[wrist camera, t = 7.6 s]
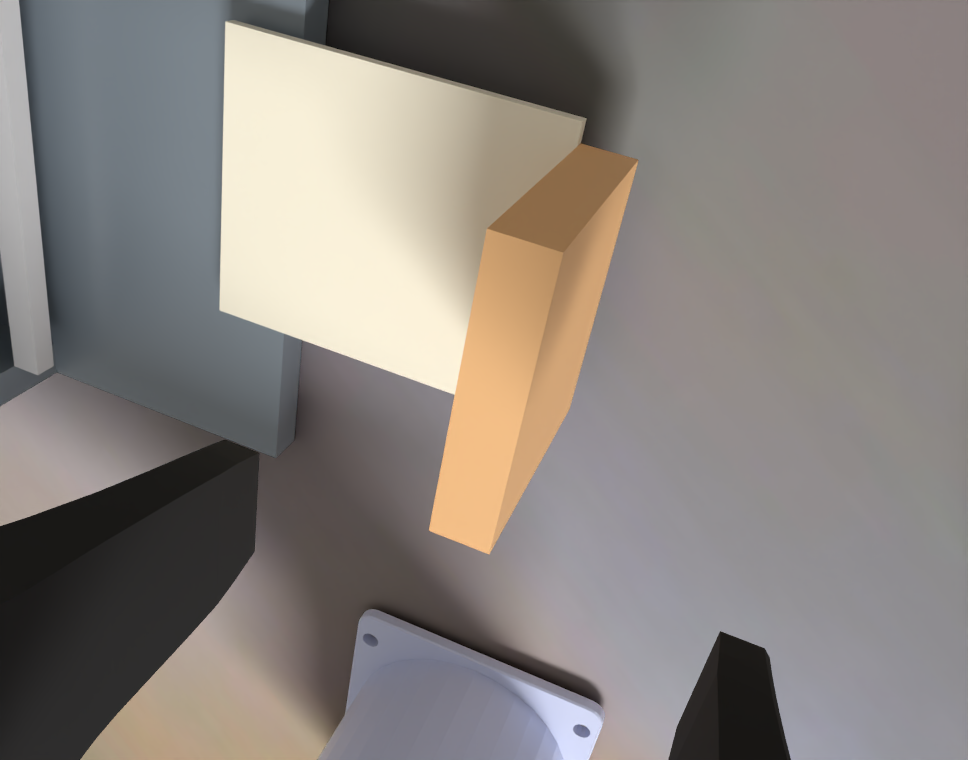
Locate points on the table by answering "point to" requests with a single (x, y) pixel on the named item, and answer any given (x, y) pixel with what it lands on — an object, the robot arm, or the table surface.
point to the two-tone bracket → (420, 244)
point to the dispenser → (132, 211)
